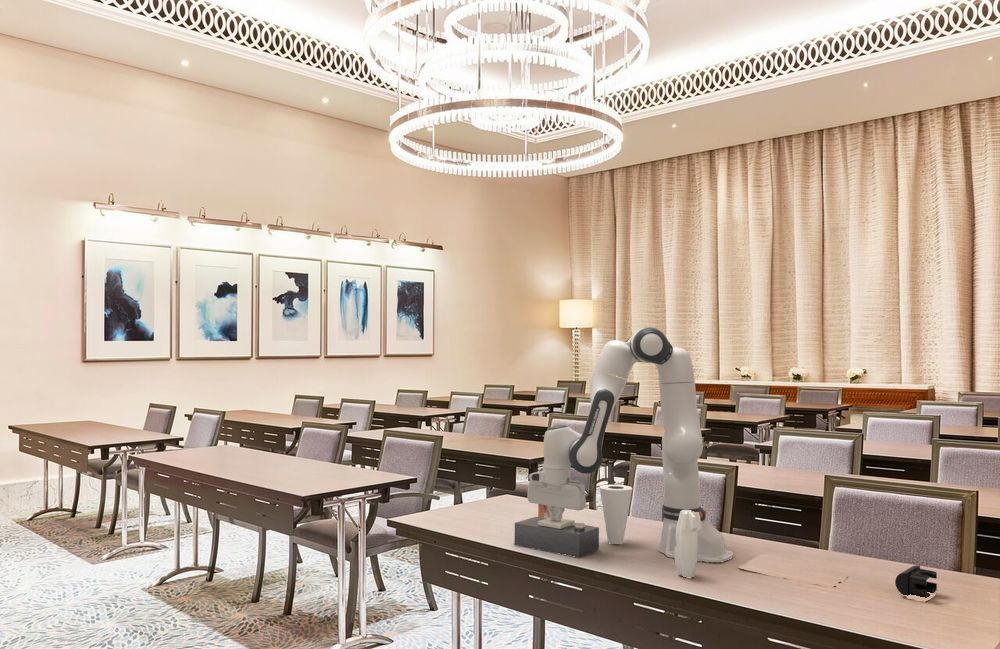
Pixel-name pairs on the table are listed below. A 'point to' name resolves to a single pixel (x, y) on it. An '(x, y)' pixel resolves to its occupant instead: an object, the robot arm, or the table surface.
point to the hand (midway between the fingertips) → (555, 520)
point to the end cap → (916, 582)
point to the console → (557, 537)
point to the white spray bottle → (687, 542)
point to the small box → (545, 511)
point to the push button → (556, 523)
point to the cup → (615, 510)
